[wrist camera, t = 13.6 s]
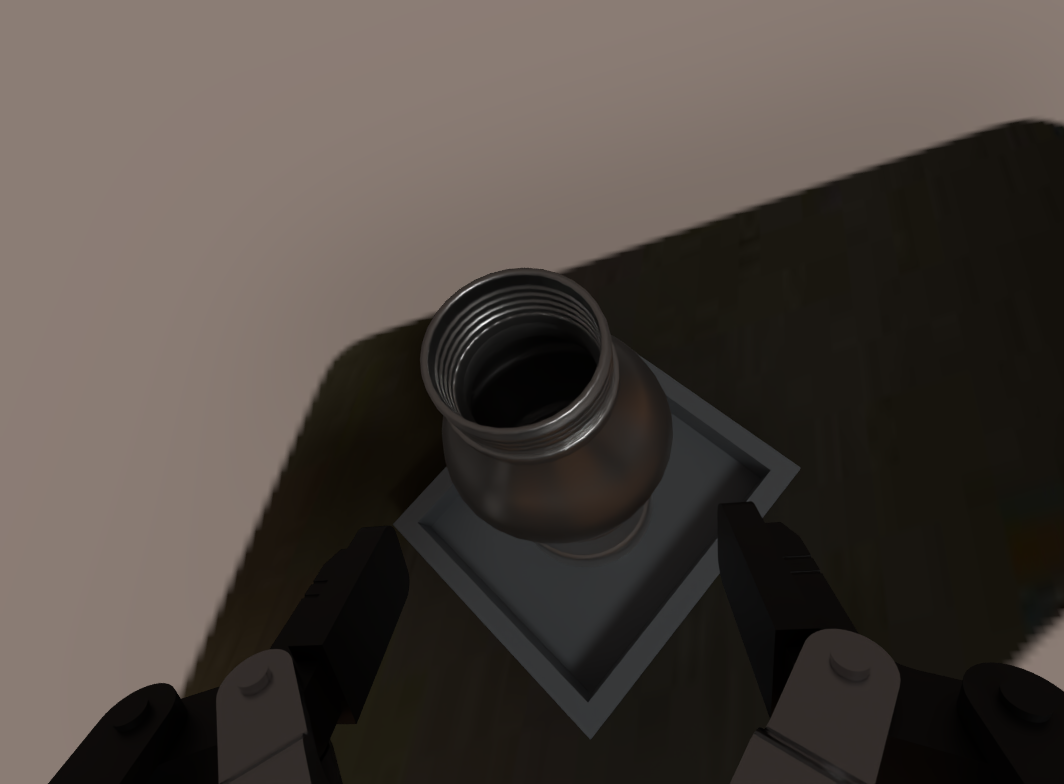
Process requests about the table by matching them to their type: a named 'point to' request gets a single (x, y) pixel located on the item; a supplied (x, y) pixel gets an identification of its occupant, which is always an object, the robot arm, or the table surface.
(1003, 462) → the table surface
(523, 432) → the plastic bottle
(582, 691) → the tray
